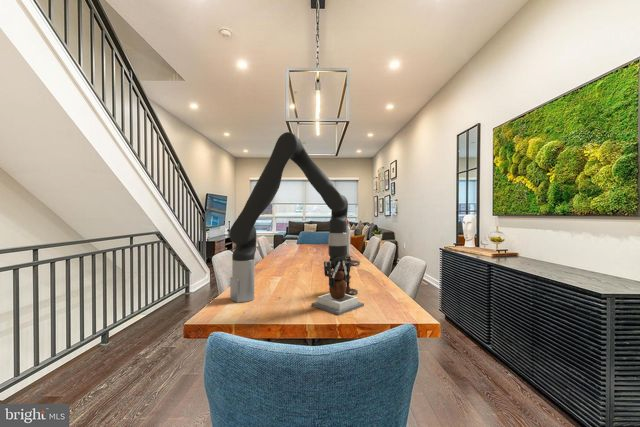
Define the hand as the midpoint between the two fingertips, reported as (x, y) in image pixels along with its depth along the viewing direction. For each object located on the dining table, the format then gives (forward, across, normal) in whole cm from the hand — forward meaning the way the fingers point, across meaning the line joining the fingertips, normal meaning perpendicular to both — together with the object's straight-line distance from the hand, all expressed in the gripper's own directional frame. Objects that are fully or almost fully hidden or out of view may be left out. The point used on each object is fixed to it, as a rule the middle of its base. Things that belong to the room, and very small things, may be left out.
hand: (337, 285), depth 117 cm
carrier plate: (+8, 0, 0) cm, 8 cm away
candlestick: (+9, -17, -9) cm, 21 cm away
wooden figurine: (+5, 0, 0) cm, 5 cm away
